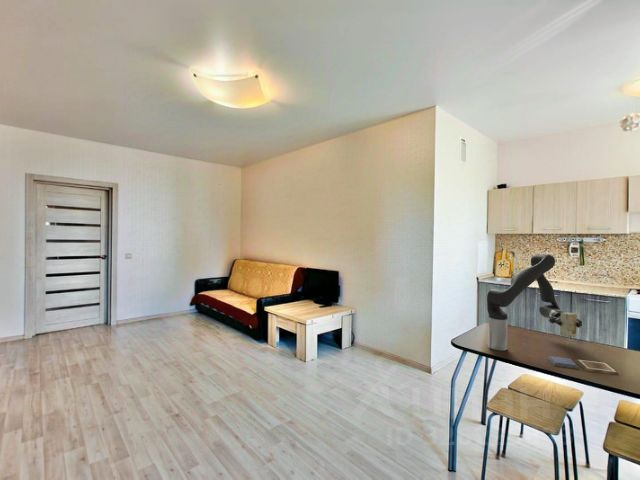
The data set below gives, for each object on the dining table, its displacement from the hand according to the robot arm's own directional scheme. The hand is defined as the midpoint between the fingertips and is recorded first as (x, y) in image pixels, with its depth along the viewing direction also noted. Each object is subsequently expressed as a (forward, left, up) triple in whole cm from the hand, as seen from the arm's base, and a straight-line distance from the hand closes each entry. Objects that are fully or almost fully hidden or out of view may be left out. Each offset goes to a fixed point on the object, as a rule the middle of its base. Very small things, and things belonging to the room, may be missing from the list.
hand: (569, 324), depth 162 cm
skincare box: (0, +2, -7) cm, 7 cm away
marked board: (+8, -10, -18) cm, 22 cm away
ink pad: (-6, -10, -18) cm, 21 cm away
